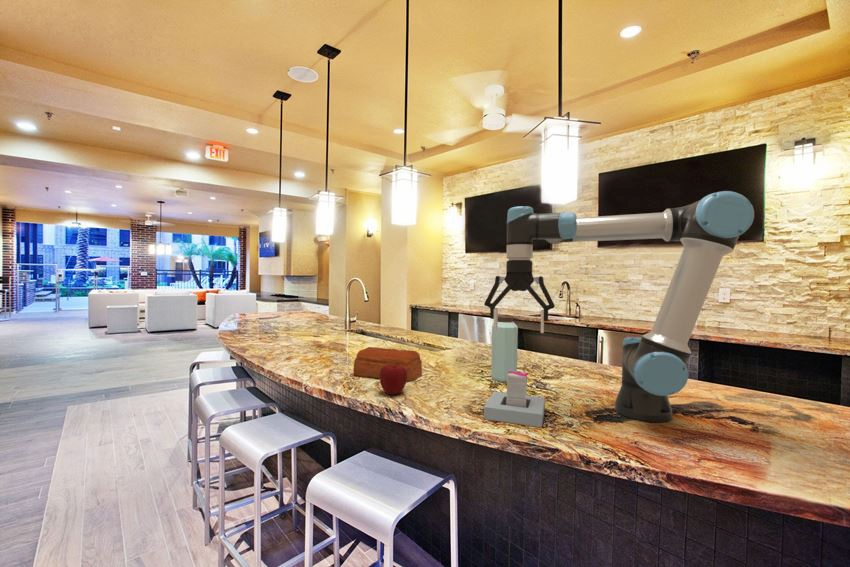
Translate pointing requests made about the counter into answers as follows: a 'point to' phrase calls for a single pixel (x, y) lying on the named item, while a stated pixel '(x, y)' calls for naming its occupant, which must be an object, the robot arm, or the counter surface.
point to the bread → (387, 362)
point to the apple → (393, 378)
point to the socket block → (515, 410)
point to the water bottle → (504, 348)
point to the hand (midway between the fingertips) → (518, 331)
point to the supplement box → (516, 389)
